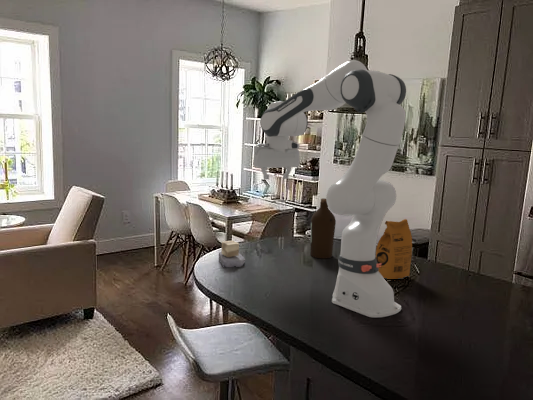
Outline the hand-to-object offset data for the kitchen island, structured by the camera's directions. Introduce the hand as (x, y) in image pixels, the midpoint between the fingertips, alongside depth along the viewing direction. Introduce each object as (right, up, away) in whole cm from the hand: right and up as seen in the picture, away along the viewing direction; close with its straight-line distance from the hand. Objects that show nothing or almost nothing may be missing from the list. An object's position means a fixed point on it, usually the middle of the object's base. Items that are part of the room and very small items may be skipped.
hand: (276, 178), depth 174 cm
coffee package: (+44, -38, -8) cm, 58 cm away
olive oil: (+20, -33, +17) cm, 42 cm away
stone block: (-18, -34, +2) cm, 39 cm away
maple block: (-18, -30, +1) cm, 35 cm away
